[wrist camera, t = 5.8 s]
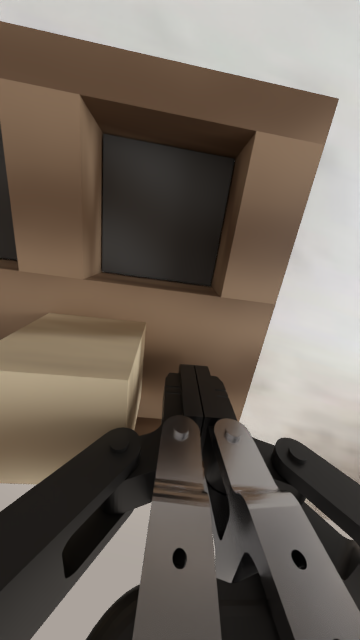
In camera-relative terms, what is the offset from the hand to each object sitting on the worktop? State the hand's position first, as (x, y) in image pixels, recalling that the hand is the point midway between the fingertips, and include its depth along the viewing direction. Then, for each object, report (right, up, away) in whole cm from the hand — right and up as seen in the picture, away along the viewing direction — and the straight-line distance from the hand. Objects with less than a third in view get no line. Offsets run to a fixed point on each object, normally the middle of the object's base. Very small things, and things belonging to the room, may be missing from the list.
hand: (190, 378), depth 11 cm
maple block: (-5, +1, +1) cm, 5 cm away
